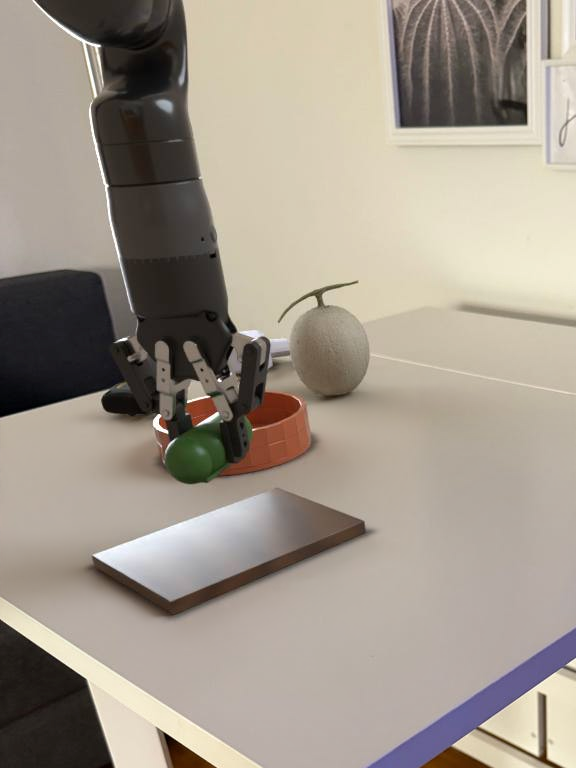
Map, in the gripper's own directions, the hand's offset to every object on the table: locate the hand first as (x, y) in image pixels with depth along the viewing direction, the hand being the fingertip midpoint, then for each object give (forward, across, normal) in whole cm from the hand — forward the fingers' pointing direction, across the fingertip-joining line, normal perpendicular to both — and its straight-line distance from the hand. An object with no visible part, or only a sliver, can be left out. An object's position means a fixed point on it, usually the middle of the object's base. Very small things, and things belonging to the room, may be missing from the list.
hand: (213, 458), depth 80 cm
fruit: (+9, -10, +49) cm, 50 cm away
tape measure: (+9, -34, +38) cm, 51 cm away
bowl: (+9, -13, +26) cm, 30 cm away
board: (+9, 0, 0) cm, 9 cm away
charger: (+9, -28, +62) cm, 69 cm away
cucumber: (+1, 0, 0) cm, 1 cm away
